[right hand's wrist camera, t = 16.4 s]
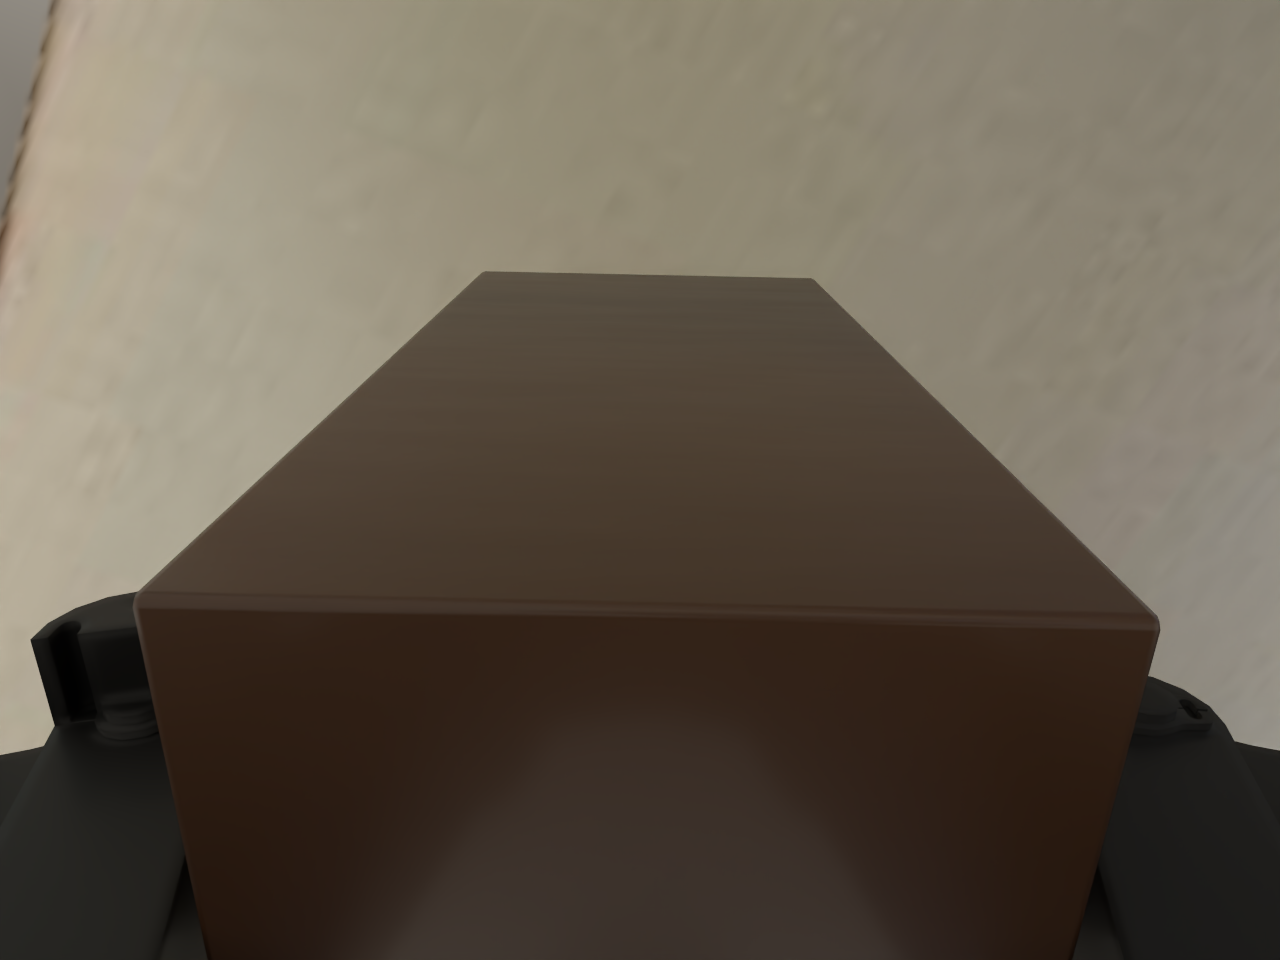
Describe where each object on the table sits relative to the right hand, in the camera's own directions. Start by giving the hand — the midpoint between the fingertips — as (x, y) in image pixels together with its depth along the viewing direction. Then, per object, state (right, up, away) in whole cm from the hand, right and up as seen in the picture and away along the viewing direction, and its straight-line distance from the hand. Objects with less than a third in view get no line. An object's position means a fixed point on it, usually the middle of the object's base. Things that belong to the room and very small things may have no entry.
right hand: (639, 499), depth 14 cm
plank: (0, -12, +6) cm, 14 cm away
